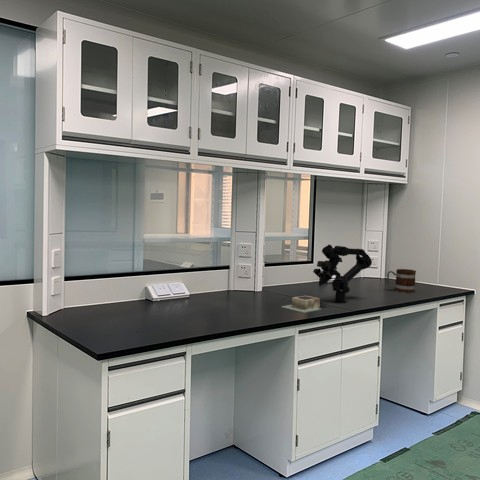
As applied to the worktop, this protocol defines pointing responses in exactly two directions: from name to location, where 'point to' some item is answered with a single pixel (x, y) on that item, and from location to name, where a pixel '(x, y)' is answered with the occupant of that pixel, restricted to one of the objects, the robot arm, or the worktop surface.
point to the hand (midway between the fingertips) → (319, 285)
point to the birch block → (305, 302)
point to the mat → (300, 309)
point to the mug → (403, 280)
